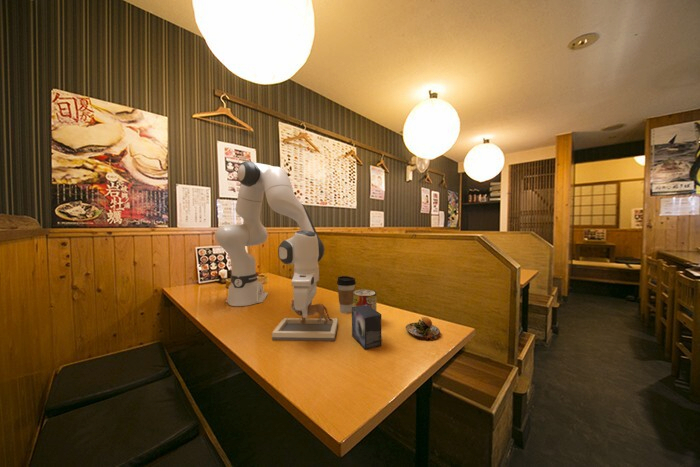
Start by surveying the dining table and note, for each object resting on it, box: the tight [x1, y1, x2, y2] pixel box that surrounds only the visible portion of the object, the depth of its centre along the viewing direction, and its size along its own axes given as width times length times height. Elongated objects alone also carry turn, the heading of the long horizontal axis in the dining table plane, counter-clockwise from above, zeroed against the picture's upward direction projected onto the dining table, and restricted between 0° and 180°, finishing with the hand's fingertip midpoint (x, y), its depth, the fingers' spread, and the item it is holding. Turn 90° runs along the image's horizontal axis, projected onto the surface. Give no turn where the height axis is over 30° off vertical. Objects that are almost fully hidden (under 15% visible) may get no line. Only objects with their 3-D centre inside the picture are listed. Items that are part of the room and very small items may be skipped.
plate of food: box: [405, 316, 441, 342], centre depth 87 cm, size 12×12×8 cm
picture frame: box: [271, 317, 339, 342], centre depth 88 cm, size 13×21×2 cm, turn 88°
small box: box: [351, 304, 383, 351], centre depth 81 cm, size 11×6×10 cm, turn 23°
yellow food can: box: [353, 289, 377, 311], centre depth 96 cm, size 9×9×12 cm
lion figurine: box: [290, 298, 333, 325], centre depth 88 cm, size 15×5×9 cm, turn 102°
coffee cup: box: [336, 275, 357, 314], centre depth 109 cm, size 8×8×15 cm
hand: (307, 314), depth 88 cm, fingers closed on lion figurine, 4 cm apart
